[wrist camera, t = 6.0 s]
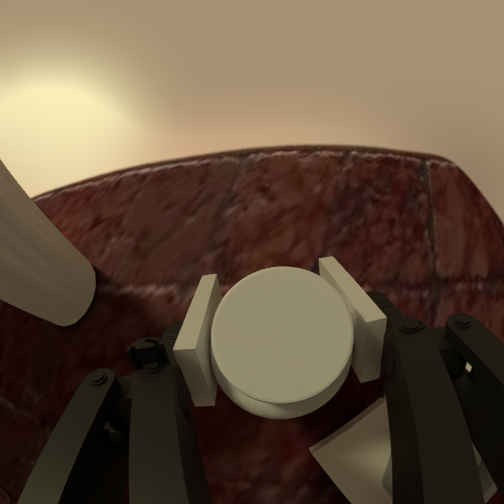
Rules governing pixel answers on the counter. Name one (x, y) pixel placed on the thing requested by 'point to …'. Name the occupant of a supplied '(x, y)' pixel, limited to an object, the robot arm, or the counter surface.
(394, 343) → the robot arm
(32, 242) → the cup
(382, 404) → the holder
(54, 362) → the counter surface
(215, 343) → the supplement bottle
